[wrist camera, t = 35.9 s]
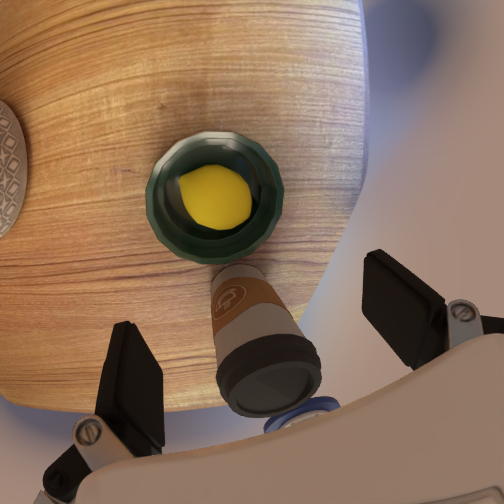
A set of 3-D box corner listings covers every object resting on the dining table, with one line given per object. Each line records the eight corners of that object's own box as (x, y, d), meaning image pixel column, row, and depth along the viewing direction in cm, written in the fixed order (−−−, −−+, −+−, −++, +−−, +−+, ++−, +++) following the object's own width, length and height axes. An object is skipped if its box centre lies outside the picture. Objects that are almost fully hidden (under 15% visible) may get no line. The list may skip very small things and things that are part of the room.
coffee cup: (243, 238, 29) (293, 336, 16) (286, 285, 33) (343, 380, 20) (185, 287, 30) (195, 400, 17) (233, 326, 34) (264, 429, 21)
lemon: (258, 184, 27) (275, 198, 22) (228, 229, 28) (238, 253, 23) (196, 146, 24) (199, 152, 19) (166, 196, 25) (162, 214, 20)
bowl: (288, 189, 28) (308, 203, 24) (209, 261, 30) (214, 286, 25) (214, 105, 23) (221, 101, 18) (129, 189, 24) (118, 204, 20)
